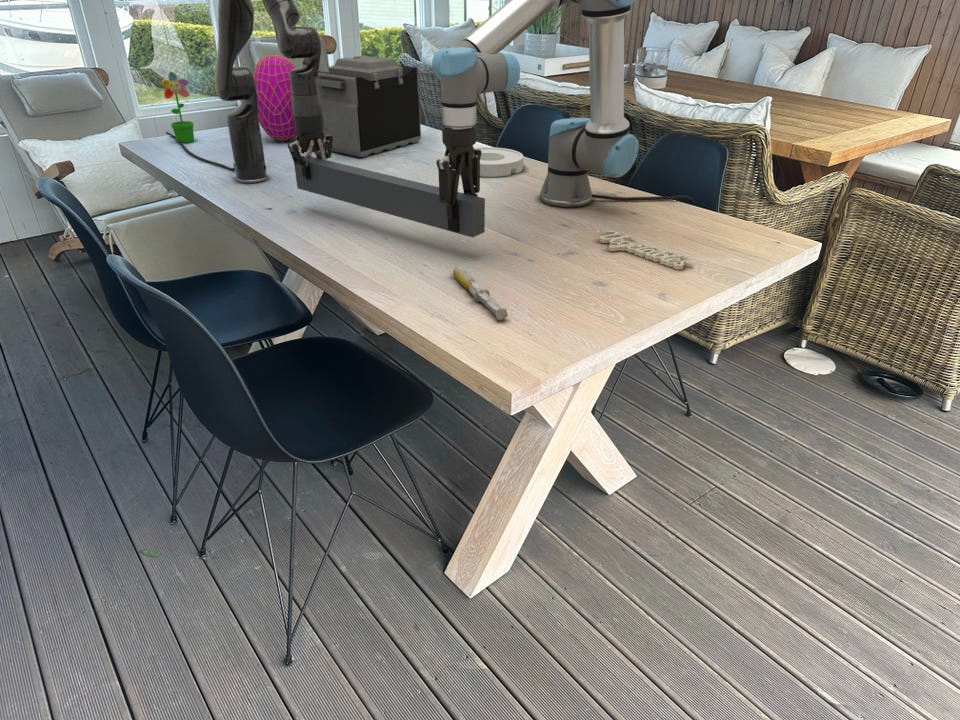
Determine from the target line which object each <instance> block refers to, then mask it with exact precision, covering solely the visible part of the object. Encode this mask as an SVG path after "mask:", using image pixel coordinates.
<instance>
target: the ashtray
mask: <svg viewBox="0 0 960 720" xmlns="http://www.w3.org/2000/svg"><path fill="white" fill-rule="evenodd" d="M474 149H478V150H481V151H482V153H481V158H480V177H483V178H490V177H491V178H498V177H507V176H511V174H519V173H520V172H522V171H523V169H524V159H525V158H524V155H523V153H522V152H520V151H517V150H514V149H510V148H505V147H504V148H503V147H493V146H492V147H491V146H486V147H485V146H484V147H483V146H481V147H480V146H479V147H474Z"/></svg>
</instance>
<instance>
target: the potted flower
mask: <svg viewBox="0 0 960 720" xmlns="http://www.w3.org/2000/svg"><path fill="white" fill-rule="evenodd" d="M167 76H168V77H167V78H168V79H165V78H164V79H162V80H161V84H160V85H161V86H162V87H163V88H166V89H165V90H164V93H163V95H164V98H165V99H171V98H172V97H173V96H175V101H176V106H177V108H172V109H171V110H170V112H171V113H172V114H174V115H179V120H180V121H174V122H171V123H170V127H171V129H172V130H173V133H174V134H173V135H174V136H175V137H176V139H175V140H176V142H177V143H179V142H178V141H181V142H182V144H188V143H192V142H194V141H195V135H194V122H193V121H190V120H183V116H182V111H181V109H182V108H183V107H184V106H185V104H184V103H180V101H179V96H178V95H180V96H181V97H183V98H187V97H190V92H189V90H187V89H186V88H184V87H186V86H188V84H189V83H190V81H189V80H188V79H186V78H183V77H182V78H179V79H178V76H177V74H176V73H175V72H174V71H169V73H168V75H167Z"/></svg>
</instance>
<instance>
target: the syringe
mask: <svg viewBox="0 0 960 720" xmlns="http://www.w3.org/2000/svg"><path fill="white" fill-rule="evenodd" d="M452 274H453V277H454V279H455V280H457V281H458V282H459V283H460V285H462V287H464V289H466V290H467V291H468V293H470V295H471V296H472V298H473V300H474V302H477V303H478V302H480V303H482V304H483V305H484V306H485V307H486V308H487V309H488V310H489V311H490V312H491V313H492V314H493V315H494V316H495V317H496V320H497V321H503V320H504V319H506V318H507V317H509V314H508V310H507V308H506V307H502V306H501V305H500V303H498V302H497V301H496V300H494V299H493V298H492V297H491V296H490V295H491V293H490V290H488V289H486V288H483V287H482V286H481V285H480V284H479V283H478V282H477V281H476V280H474V278H473V277H471V275H469V274H468V273H467V272H466V270H465V269H464V268H463V267H462V266H456V267H454V268H453V271H452Z"/></svg>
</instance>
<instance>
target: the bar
mask: <svg viewBox="0 0 960 720" xmlns="http://www.w3.org/2000/svg"><path fill="white" fill-rule="evenodd" d="M293 166H294V173H295V174H294V175H295V182H296V188H297V189H299V190H301V191H305V192H308V193H313V194H316V195H320V196H323V197H327V198H330V199H334V200H338V201H341V202H345V203H348V204H352V205H355V206H359V207H362V208H366V209H369V210H372V211H377V212H380V213H383V214H387V215H391V216H393V217H398V218H401V219H404V220H408V221H411V222H415V223H420V224H422V225H426V226H430V227H433V228H436V229H440V230H444V231H448V232H451V233H455V234H458V235H462V236H465V237H469V238H472V239H473V238H475V237H477V236H480V235H482V234H484V233H485V230H486V227H485V225H486V223H485V222H486V221H485V220H486V198H485V197H481V196H478V197H477V196H473V195H469V194H465V193H464V192H461V191H458V192H457V200H456V204H459V232H454V231H450V230H448V218H447V206H446V204H444V203H441V202H440V199H439V186H436V185H432V184H428V183H422V182H419V181H415V180H411V179H407V178H402V177H398V176H394V175H389V174H385V173H381V172H377V171H373V170H369V169H365V168H361V167H356V166H353V165H348V164H345V163H344V164H343V163H340V162H336V161H332V160H328V159H327V160H324V159H320V158H317V157H316V156H311V158H310V161H309V166H310V173H311V180H305V179H304V178H303V176H302V168H301V165H297V164H294V163H293Z"/></svg>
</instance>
